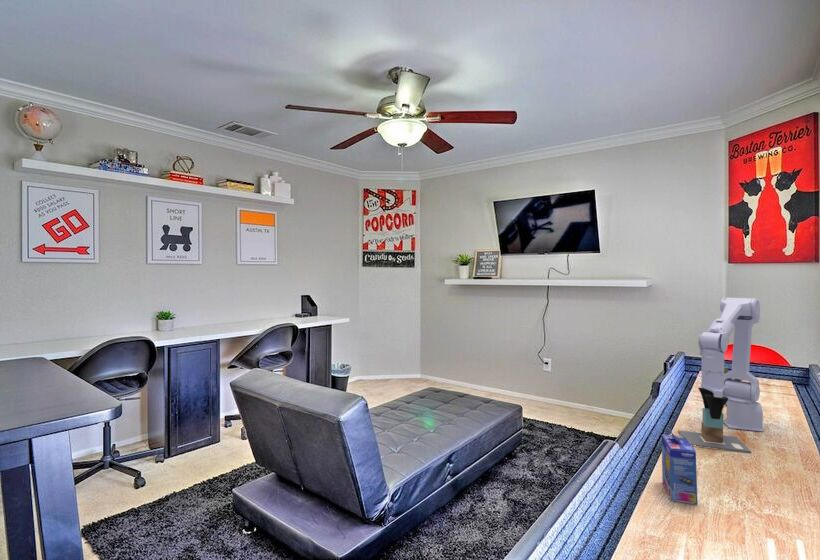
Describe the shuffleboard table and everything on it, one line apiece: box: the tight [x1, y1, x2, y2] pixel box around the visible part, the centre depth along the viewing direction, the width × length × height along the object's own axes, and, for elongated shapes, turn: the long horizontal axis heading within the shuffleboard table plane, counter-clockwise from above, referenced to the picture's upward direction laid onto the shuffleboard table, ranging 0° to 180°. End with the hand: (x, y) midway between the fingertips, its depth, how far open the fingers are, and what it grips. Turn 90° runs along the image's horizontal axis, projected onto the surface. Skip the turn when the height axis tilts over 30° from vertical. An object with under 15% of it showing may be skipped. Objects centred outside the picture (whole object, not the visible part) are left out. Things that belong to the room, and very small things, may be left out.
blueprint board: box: [677, 429, 752, 454], centre depth 133 cm, size 16×12×1 cm
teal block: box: [701, 407, 725, 430], centre depth 133 cm, size 4×4×4 cm
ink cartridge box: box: [660, 428, 699, 505], centre depth 102 cm, size 10×6×14 cm, turn 161°
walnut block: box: [700, 421, 724, 443], centre depth 133 cm, size 4×4×4 cm
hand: (712, 415), depth 133 cm, fingers open, 7 cm apart
